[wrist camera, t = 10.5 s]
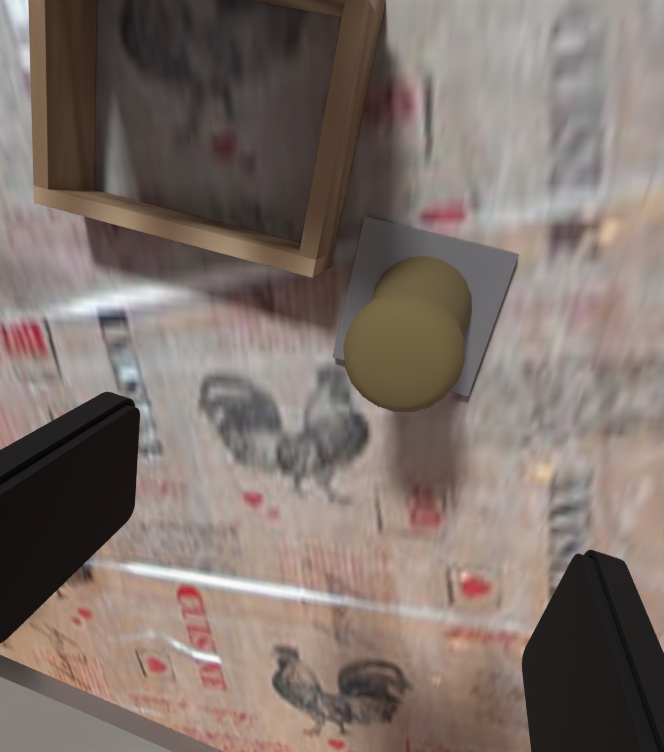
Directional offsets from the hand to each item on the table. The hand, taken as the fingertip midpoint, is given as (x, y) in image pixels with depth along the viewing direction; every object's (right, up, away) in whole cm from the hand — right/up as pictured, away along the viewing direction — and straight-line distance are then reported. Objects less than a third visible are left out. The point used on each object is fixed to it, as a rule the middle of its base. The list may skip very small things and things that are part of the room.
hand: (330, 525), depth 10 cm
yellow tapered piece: (+5, +7, +20) cm, 22 cm away
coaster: (+5, +7, +20) cm, 22 cm away
